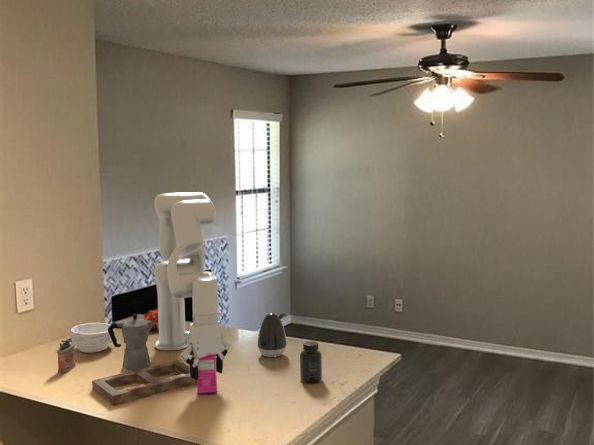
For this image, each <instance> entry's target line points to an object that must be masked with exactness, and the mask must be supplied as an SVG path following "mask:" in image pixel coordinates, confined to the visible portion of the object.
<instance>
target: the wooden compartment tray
mask: <svg viewBox="0 0 594 445" xmlns="http://www.w3.org/2000/svg"><path fill="white" fill-rule="evenodd" d="M170 374H176V375H173V376H169V377H168V378H164V379H161V380H160V379H159V377H162V376H166V375H170ZM135 383H136V384H137V385H134V386H129V387H127V388H125V389H121V390H117V388H118V387H119V388H120V387H123V386H127V385H131V384H135ZM196 383H197V380H195V379H193V378H191V376H190V365H189V364H188V365H187V363H184V362H182V361H180V360H178V359H175V360H173V361H168V362H163V363H159V364H156V365H152V366H151V365H150V366H149V367H147V368H142V369H138V370H134V371H126V372H122V373H117V374H115V375H109V376H105V377H102V378H97V379H92V380H91V386H92V389H91V390H92V391H93V392H94V393H95V394H97V395H98V396H100V397H101V398H102V399H103V400H105V401H106V402H107V403H109V404H110V405H111V406H113V407H115V406H118V405H122V404H126V403H130V402H133V401H137V400H141V399H146V398H149V397H152V395H153V396H156V395H159V394H163V393H168V392H171V391H174V390H179V389H182V388H186V387H189V385H190V386H192V385H193V384H194V385H197V384H196Z"/></svg>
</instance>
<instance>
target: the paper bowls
mask: <svg viewBox="0 0 594 445" xmlns="http://www.w3.org/2000/svg"><path fill="white" fill-rule="evenodd" d="M111 324H112V323H111ZM111 324H110V323H104V322H88V323H83V324H82V323H81V324H78V325H75V326H73V327H72V328H71V329H70V338H72V342H70V344H75V347H76V348H77V350H78V351H79V352H82V353H87V354H90V353H91V354H92V353H100V352H102V351H105V350H106V349H107V348H109V345H110V344H111V343H113V342H112V339H111V337H110V335H109V333H108V328H109V326H110V325H111ZM113 331H114V332H115V328H114V329H113Z"/></svg>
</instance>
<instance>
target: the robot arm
mask: <svg viewBox="0 0 594 445" xmlns="http://www.w3.org/2000/svg"><path fill="white" fill-rule="evenodd" d="M154 211H155V213H156V216H157V218H158V220H159V238H158V239H159V242H158V244H159V247H158V248H159V249H158V250H159V254H160V256H161V257H162V258H163V259H164V260H165V261H161V262H159V263H157V264H156V266H155V268H154V273H153V274H154V279H155V285H156V292H157V310H158V320H159V329H158V340H156V342H154V347H155V348H156V349H158V350H161V351H179V350H183V349H185V350H183V352H182V353H180V357H181V358H182V359H183V360H184V362H185V364H188V366H190V376H191V378H193V379H195V380H198V367H197V366H196V365H197V363H198V361H199V359H200V358H203V357H207V356H211V355H216V373H218V374H223V369H224V360H225V357H226V356H227V354H228V352H229V349H230V348H231V345H232V344H231V343H229V342H227V341H225V340H224V337H223V336H224V335H223V334H224V333H223V328H222V325H221V321H220V319H219V318H220V317H221V316H222V312H221V311H220V310H219V293H218V292H219V288H218V287H219V286H218V283H219V282H218V280H217V277H216V275H215V274H214V273H213V272H211V271H209V270H207V271H206V270H205V271H204V269H205V268H204V266H205V265H204V264H205V240H204V237H203V232H202V227H201V226H209V225H213V224H214V223H215V222H216V220H217V210H216V206H215V205H214V203H213V201H212V199H210V197H208V196H207V194H206V193H203V192H199V191H197V192H195V191H194V192H167V193H159V194H158V195H156V196H155V198H154ZM188 298H192V323H190V324H189V328H188V329H189V330H188V331H186V314H185V313H186V312H185V311H186V310H185V304H186V303H185V299H188ZM189 356H190V357H189Z"/></svg>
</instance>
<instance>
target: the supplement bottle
mask: <svg viewBox="0 0 594 445" xmlns="http://www.w3.org/2000/svg"><path fill="white" fill-rule="evenodd" d="M319 349H320V347H319V342H317V341H313V340H312V341H311V340H308V341H304V342H303V343H302V351H301V352H300V355H299V367H300V371H299V373H300V376H299V377H300V381H301V382H302V381H303V382H302V383H304V382H306V383H305V384H309V383H313V384H318V383H320V382H321V381H322V379H323V356H322V355H323V354H322V352H321V351H320V350H319Z"/></svg>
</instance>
